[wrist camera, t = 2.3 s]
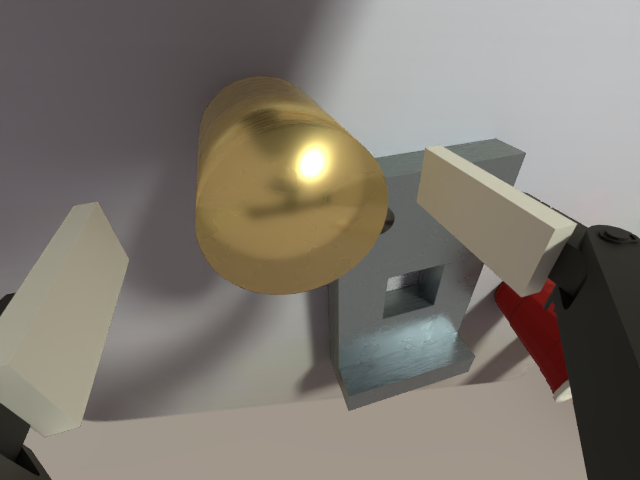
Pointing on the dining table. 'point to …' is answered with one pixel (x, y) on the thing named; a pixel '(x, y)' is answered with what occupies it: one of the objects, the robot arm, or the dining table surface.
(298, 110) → the golden knob
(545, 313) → the plastic cup
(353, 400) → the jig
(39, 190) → the dining table surface
